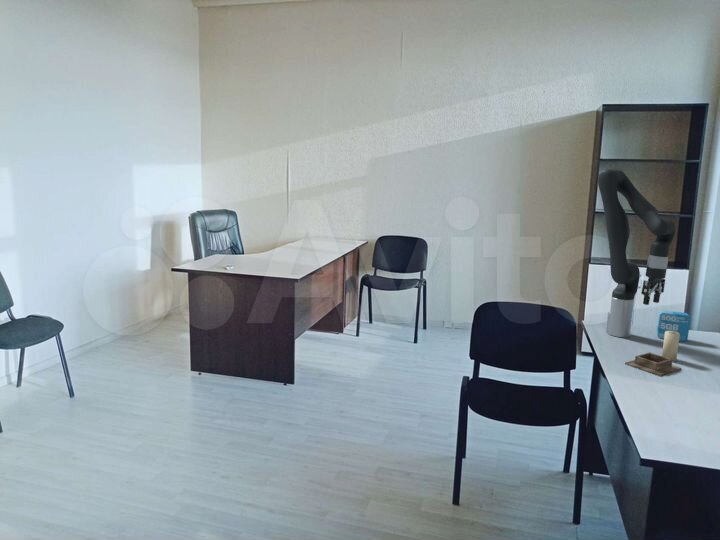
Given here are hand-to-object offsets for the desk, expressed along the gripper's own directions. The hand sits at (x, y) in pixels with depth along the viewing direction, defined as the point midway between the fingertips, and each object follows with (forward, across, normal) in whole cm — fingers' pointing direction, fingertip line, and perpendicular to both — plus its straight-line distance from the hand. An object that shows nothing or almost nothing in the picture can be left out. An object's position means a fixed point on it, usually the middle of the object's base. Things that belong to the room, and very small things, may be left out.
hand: (650, 303), depth 239 cm
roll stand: (+19, +25, +16) cm, 35 cm away
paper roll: (+18, +11, +16) cm, 26 cm away
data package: (+17, -17, +3) cm, 25 cm away
